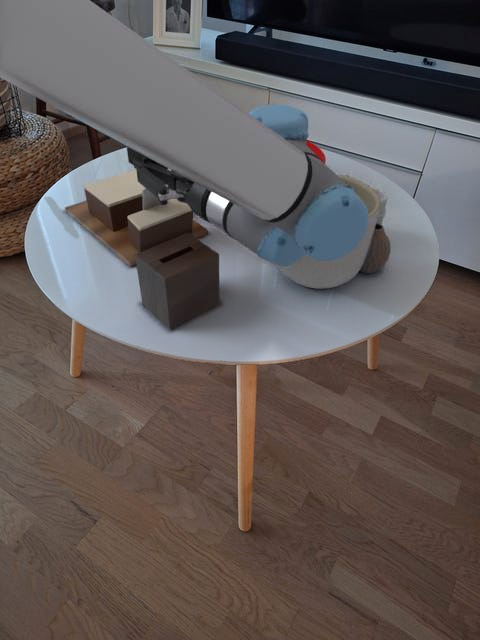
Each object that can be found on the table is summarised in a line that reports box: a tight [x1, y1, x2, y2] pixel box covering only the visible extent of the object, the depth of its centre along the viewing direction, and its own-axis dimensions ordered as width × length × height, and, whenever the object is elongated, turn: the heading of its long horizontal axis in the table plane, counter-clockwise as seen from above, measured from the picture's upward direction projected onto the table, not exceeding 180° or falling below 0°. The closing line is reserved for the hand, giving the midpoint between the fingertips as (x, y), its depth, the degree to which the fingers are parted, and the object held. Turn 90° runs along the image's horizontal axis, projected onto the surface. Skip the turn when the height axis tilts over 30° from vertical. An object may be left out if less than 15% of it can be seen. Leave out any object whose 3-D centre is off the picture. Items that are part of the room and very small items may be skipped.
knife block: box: [135, 233, 220, 330], centre depth 74 cm, size 8×10×10 cm
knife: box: [142, 159, 163, 210], centre depth 83 cm, size 3×5×19 cm, turn 131°
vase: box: [359, 223, 392, 274], centre depth 83 cm, size 7×7×9 cm
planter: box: [277, 173, 381, 290], centre depth 80 cm, size 17×17×15 cm
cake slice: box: [128, 199, 195, 252], centre depth 87 cm, size 4×12×6 cm, turn 131°
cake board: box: [64, 199, 209, 268], centre depth 96 cm, size 26×18×1 cm
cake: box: [83, 169, 146, 232], centre depth 95 cm, size 10×12×6 cm
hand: (138, 151), depth 82 cm, fingers closed on knife, 3 cm apart
